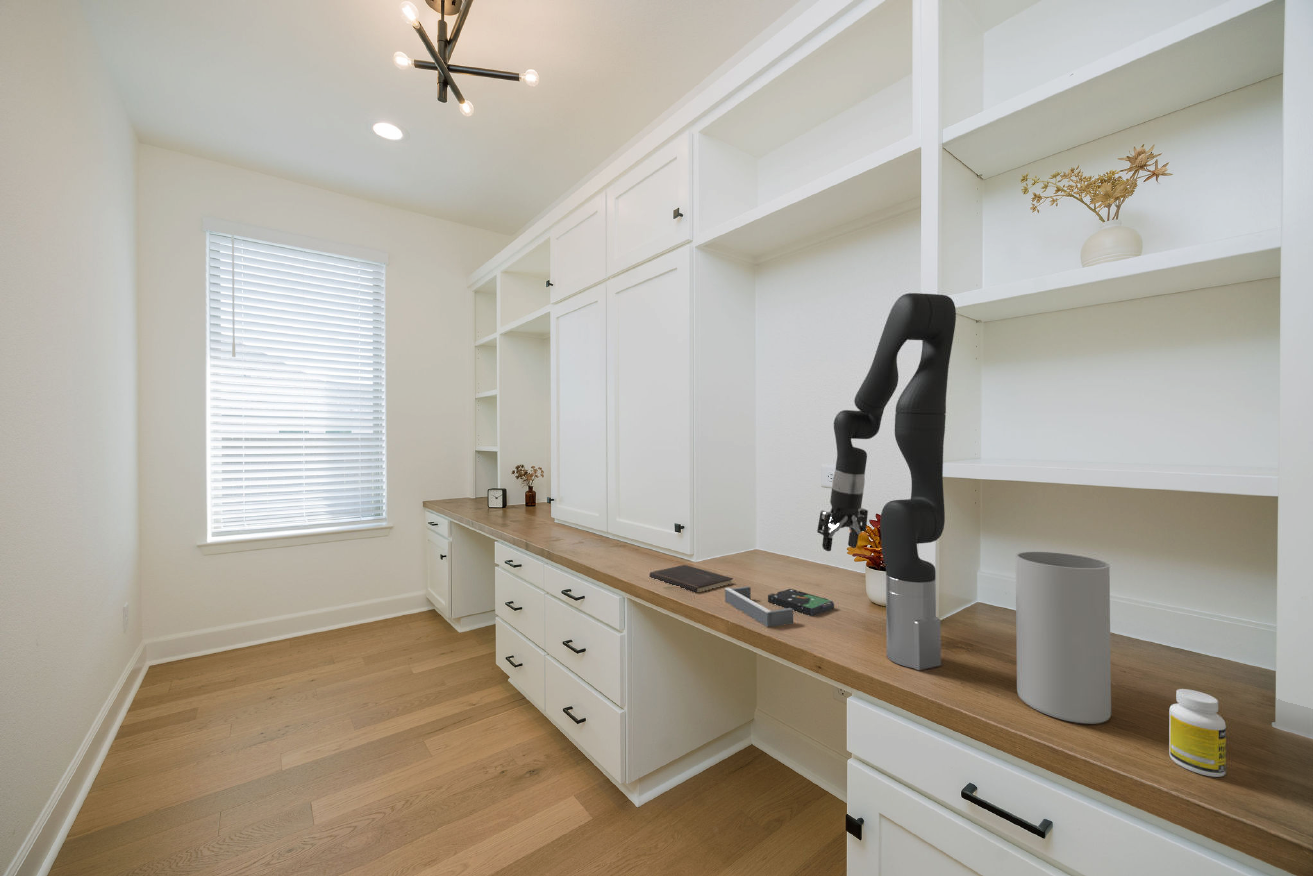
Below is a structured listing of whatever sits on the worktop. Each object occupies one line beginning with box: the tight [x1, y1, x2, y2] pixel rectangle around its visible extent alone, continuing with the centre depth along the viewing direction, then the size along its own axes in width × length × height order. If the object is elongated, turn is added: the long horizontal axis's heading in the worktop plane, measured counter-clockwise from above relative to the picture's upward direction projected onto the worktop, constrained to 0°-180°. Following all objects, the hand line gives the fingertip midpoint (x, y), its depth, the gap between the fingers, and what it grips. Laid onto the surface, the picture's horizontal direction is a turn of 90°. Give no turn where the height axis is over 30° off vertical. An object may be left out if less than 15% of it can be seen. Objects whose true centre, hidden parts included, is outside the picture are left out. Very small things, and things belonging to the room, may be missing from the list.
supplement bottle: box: [1168, 688, 1227, 778], centre depth 70 cm, size 5×5×10 cm
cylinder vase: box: [1015, 551, 1112, 725], centre depth 86 cm, size 12×12×25 cm
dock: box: [724, 585, 794, 628], centre depth 134 cm, size 21×8×4 cm, turn 21°
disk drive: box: [767, 588, 835, 618], centre depth 139 cm, size 10×3×15 cm
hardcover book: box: [648, 564, 734, 594], centre depth 164 cm, size 16×23×2 cm
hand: (839, 548), depth 130 cm, fingers open, 8 cm apart
